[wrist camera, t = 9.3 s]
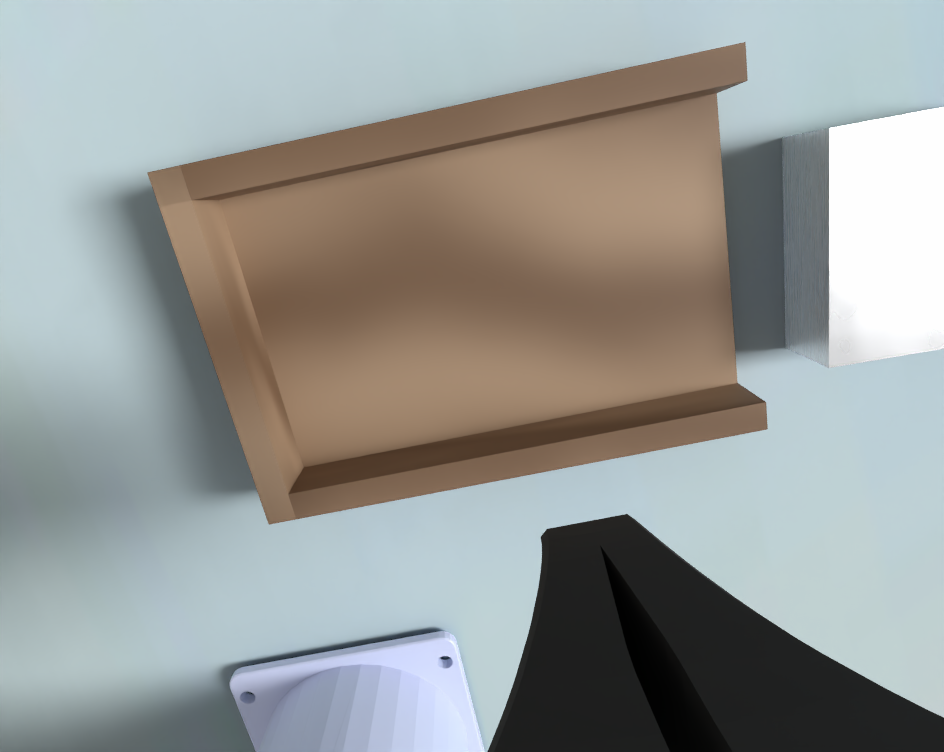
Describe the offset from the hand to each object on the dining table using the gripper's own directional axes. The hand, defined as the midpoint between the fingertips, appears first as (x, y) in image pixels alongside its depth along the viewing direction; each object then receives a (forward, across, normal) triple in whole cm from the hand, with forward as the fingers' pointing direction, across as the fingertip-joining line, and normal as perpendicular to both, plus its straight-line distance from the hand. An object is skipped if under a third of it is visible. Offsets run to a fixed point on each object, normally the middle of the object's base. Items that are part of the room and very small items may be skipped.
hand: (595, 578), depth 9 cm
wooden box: (+9, +1, -3) cm, 10 cm away
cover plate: (+10, -10, -2) cm, 15 cm away
